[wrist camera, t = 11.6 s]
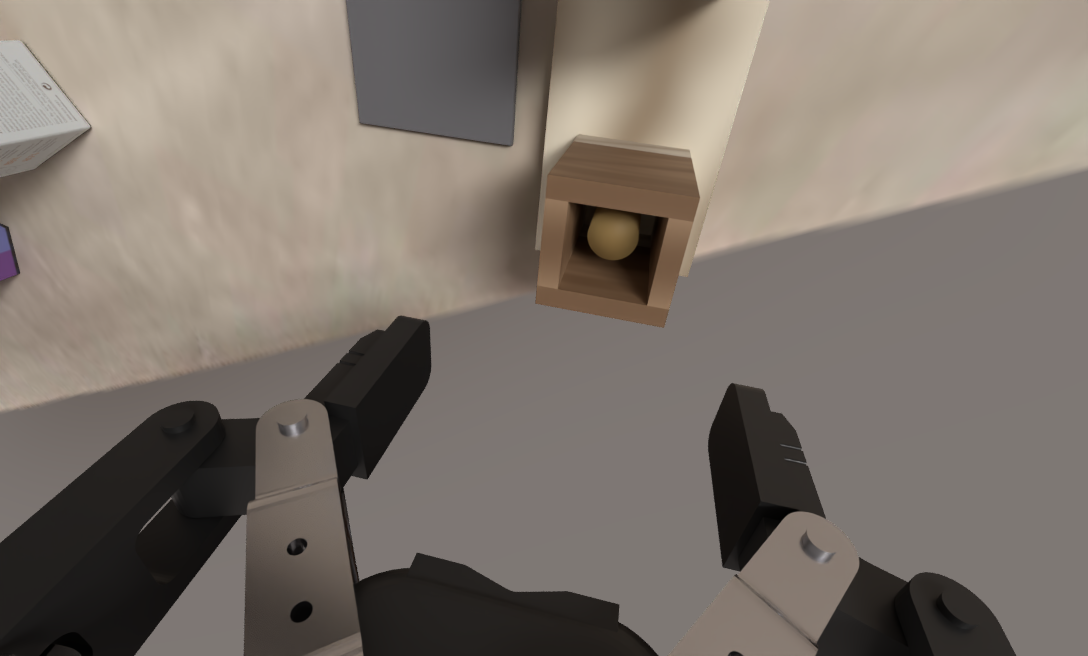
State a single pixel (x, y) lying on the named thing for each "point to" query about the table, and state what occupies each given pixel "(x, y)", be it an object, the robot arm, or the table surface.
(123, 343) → the table surface
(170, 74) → the table surface
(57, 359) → the table surface
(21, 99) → the small box
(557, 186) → the sleeve brown
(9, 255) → the cereal box
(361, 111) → the mat
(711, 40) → the pin board
